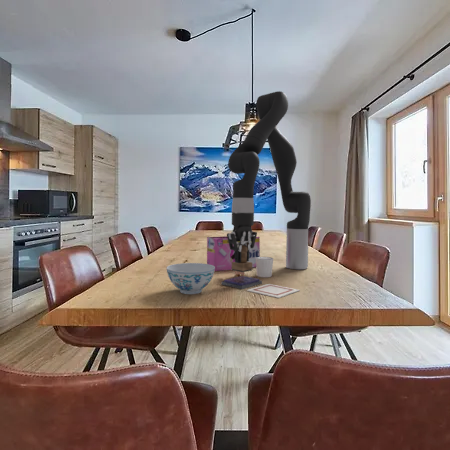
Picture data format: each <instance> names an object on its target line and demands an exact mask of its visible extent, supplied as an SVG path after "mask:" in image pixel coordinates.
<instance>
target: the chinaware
mask: <svg viewBox="0 0 450 450" xmlns="http://www.w3.org/2000/svg"><path fill="white" fill-rule="evenodd" d="M215 272H216V271H215V267H214V266H213V265H209V264H207V263H203V262H202V263H201V262H200V263H199V262H186V263H185V262H184V263H173V264H170V265H167V266H166V273H167V277H168V278H169V280H170V282H171V283H172V285H174V286H175V287H176V288H177V289H179V292H180V293H181V294H185V295H198V294H200V293H201V292H202V291H203V289H204V288H205V287H206V286H208V285H209V283H210V282H211V281H212V278H213V277H214V274H215Z"/></svg>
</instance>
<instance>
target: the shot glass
mask: <svg viewBox="0 0 450 450" xmlns="http://www.w3.org/2000/svg"><path fill="white" fill-rule="evenodd" d="M273 266H274V258H273V257H269V256H260V257H256V267H255V268H256V276H257V277H259V278H271V277H272V275H273Z"/></svg>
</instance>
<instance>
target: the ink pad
mask: <svg viewBox="0 0 450 450" xmlns="http://www.w3.org/2000/svg"><path fill="white" fill-rule="evenodd" d="M262 284H263V280H261V279H259V278H255V277H252V276H251V277H250V276H247V275H246V276H241V275H240V276H239V277H235V276H234V277H231V278H228V279H227V278H226V279H224V280H223V281H221V283H220V285H222V286H227V287H231V288H234V289H240V290H245V289H248V288H251V287H252V288H253V287H255V286H260V285H262Z"/></svg>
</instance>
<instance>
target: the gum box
mask: <svg viewBox="0 0 450 450" xmlns="http://www.w3.org/2000/svg"><path fill="white" fill-rule="evenodd" d="M260 241H261V240H260V236H256V240H255V244H254V248H251V249H250V251H249V261H248V262H252V268H256V257H261V254H260V253H261V252H260V251H261V249H260V245H261V244H260V243H261V242H260ZM237 242H240V241H237ZM251 243H252V242H251ZM251 243H250V245H251ZM246 245H247V244H246ZM233 246H234V245H233ZM233 254H235V251H234V250H231V249H230V246H229V242H228V238H227V235H226V236H208V237H206V264H209V265H213V266H214V267H215V271H214V272H216V271H217V272H218V271H228V270H230V271H232V262H235V259H233V260H232V262H230V259H231V256H232V255H233Z"/></svg>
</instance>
